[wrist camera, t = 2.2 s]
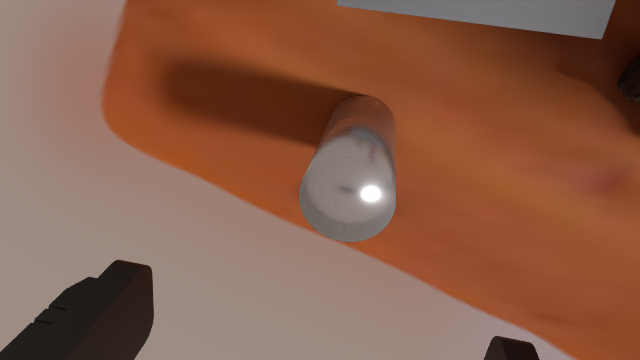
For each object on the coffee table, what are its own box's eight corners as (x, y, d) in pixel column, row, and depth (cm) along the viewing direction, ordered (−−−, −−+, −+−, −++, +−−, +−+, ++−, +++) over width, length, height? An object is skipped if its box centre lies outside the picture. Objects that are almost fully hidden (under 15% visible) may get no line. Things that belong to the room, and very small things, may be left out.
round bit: (400, 100, 26) (404, 163, 17) (388, 162, 28) (386, 249, 19) (334, 90, 27) (303, 147, 18) (326, 152, 29) (295, 233, 20)
